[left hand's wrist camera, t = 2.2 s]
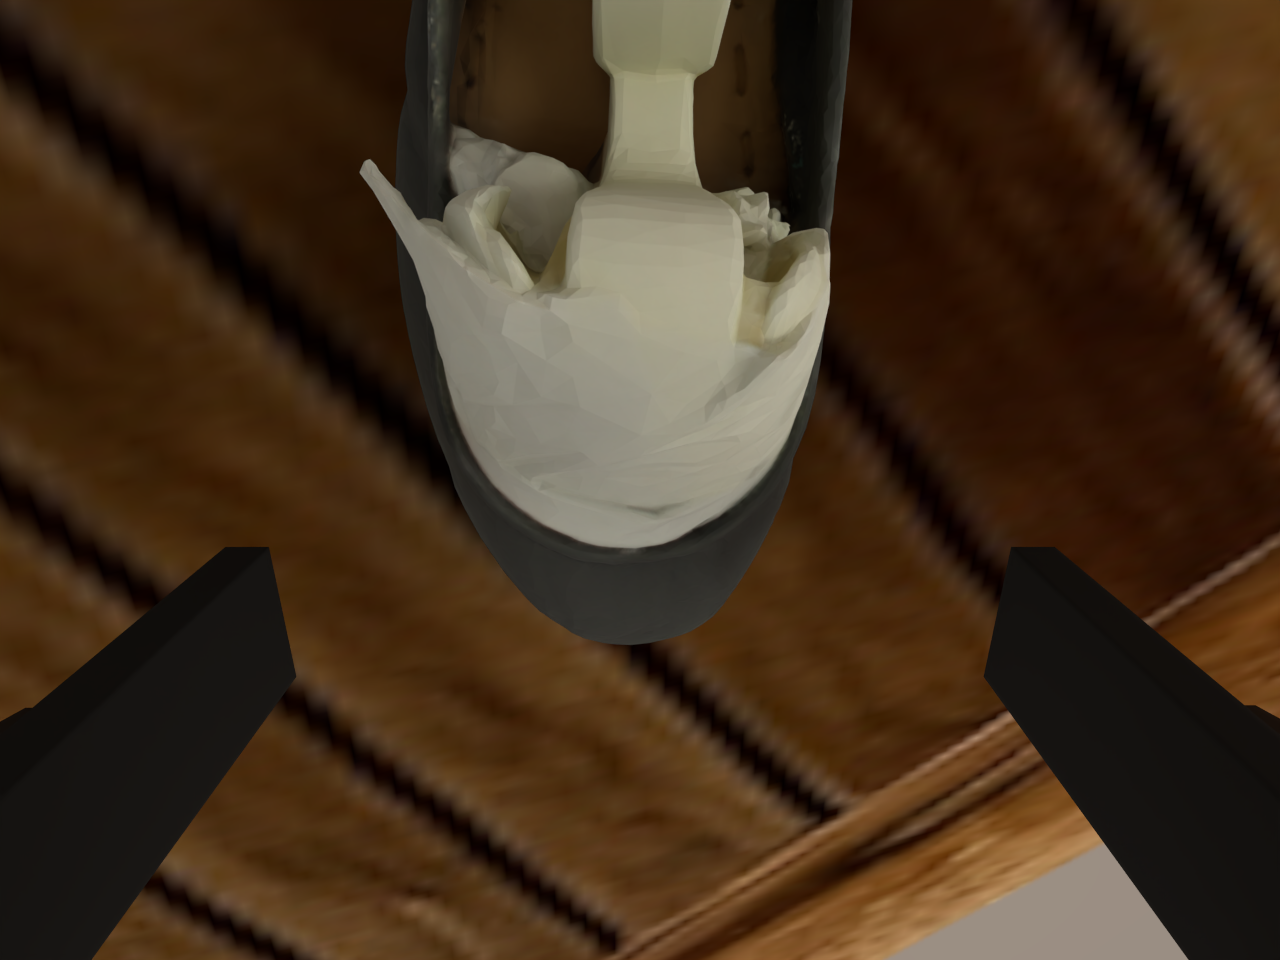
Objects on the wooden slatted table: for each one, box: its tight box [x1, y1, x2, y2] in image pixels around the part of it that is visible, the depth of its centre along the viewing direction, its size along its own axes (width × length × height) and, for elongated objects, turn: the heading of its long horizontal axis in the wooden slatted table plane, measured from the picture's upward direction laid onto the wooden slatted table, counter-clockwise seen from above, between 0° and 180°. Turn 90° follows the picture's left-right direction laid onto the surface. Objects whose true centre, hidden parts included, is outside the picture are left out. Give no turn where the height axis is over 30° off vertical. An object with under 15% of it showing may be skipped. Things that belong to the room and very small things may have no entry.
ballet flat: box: [359, 0, 852, 645], centre depth 11 cm, size 8×24×8 cm, turn 0°
